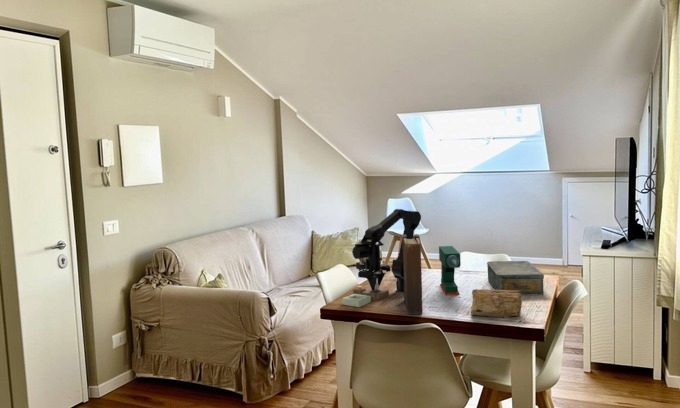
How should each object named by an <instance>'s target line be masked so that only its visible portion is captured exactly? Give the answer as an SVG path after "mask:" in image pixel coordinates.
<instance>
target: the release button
mask: <svg viewBox="0 0 680 408" xmlns="http://www.w3.org/2000/svg"><path fill="white" fill-rule="evenodd" d="M363 288H364V287H363V286H362V285H357V286H355V289H356V290H362V289H363Z"/></svg>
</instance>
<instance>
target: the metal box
mask: <svg viewBox="0 0 680 408" xmlns="http://www.w3.org/2000/svg"><path fill="white" fill-rule="evenodd" d="M486 264H487V266H486V267H487V280H488V282H489V283H490V284H491V286H492V287H493V288H494V289H493V290H510V291H521V294H542V295H544V278H545V274H544V273H542V271H540V269H538V268H536V266H534V265H533V264H532V263H531V262H530V261H528V260H518V261H517V260H503V261H501V260H492V261H487V262H486Z"/></svg>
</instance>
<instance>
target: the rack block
mask: <svg viewBox="0 0 680 408" xmlns="http://www.w3.org/2000/svg"><path fill="white" fill-rule="evenodd" d="M341 302H342V305H344V306H351V307H356V308H357V307H358V308H360V307H362V306H365V305H367V304H369V303H371V297H370V296H367V295H360V294H353V293H352V294H350V295H347V296H344V297H342V301H341Z"/></svg>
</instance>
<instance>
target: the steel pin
mask: <svg viewBox="0 0 680 408" xmlns="http://www.w3.org/2000/svg"><path fill="white" fill-rule="evenodd" d="M379 289H380V286H379V285H378V277H377V280H376V285H375V289H374V290H372V292H375V293H377V292H379Z"/></svg>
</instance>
